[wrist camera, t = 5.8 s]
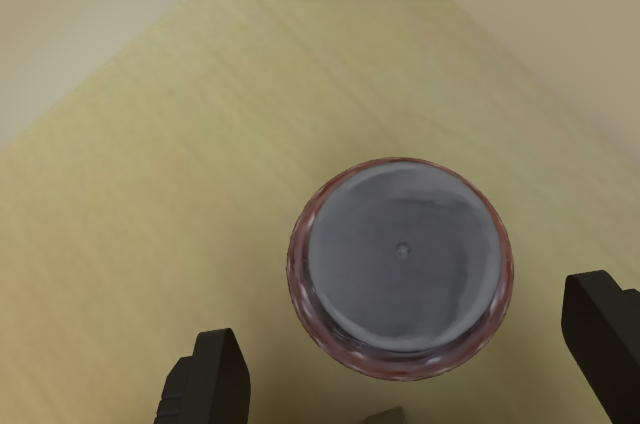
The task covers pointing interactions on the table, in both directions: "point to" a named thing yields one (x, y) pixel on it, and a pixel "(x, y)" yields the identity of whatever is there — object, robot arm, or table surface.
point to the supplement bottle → (400, 269)
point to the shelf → (388, 417)
